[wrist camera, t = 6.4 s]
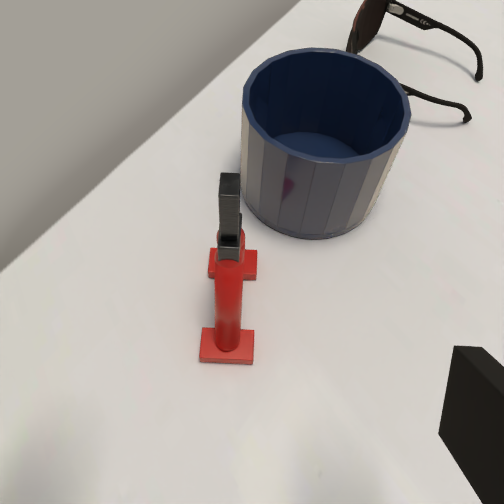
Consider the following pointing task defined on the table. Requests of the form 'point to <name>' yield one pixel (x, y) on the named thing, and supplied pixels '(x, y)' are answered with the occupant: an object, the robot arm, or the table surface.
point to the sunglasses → (380, 3)
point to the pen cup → (319, 140)
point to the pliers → (229, 281)
